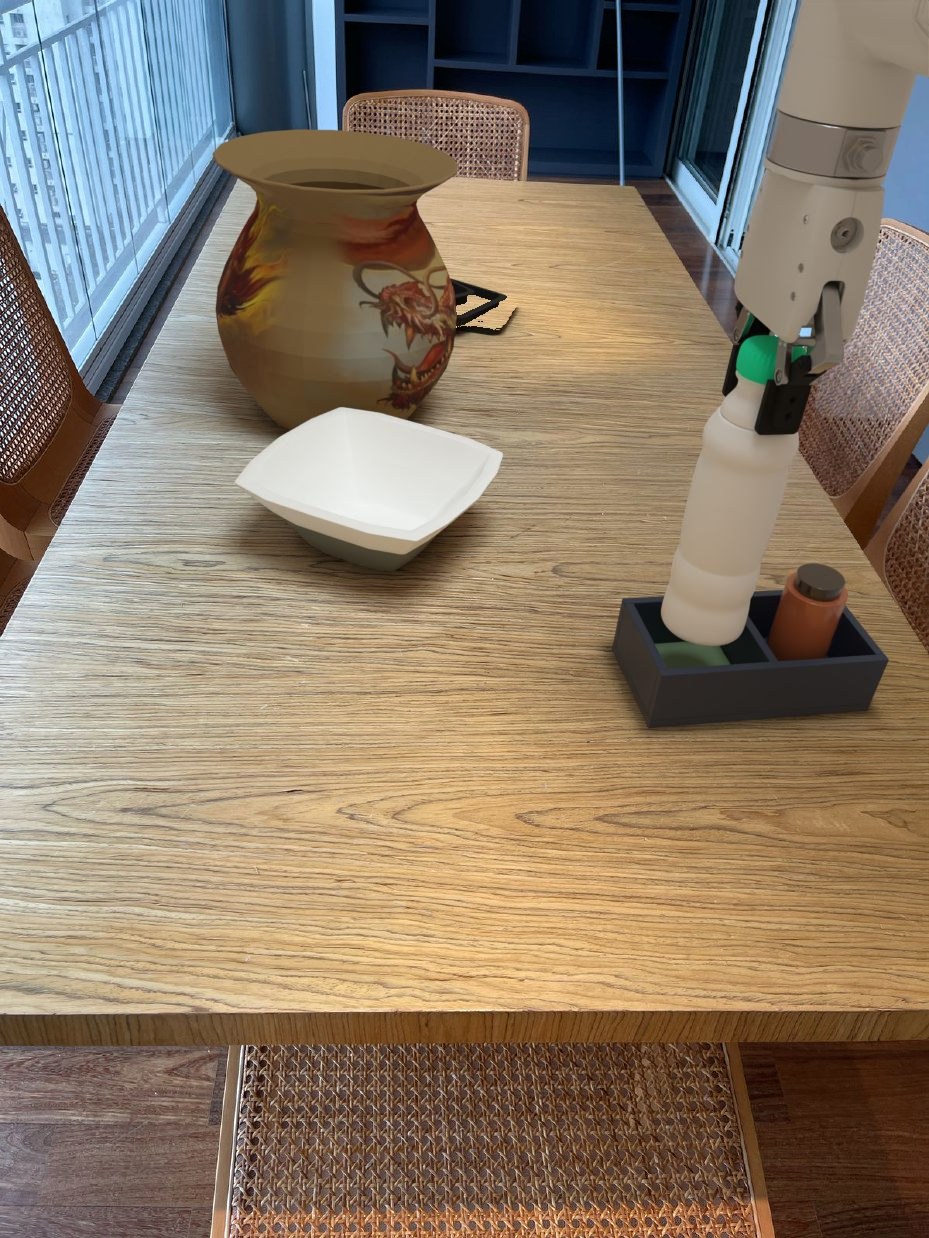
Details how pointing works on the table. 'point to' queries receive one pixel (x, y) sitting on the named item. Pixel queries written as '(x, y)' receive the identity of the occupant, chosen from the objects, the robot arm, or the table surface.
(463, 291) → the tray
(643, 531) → the table surface
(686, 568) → the water bottle
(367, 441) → the bowl
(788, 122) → the robot arm
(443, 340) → the vase
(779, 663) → the divided storage box
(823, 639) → the spice jar
